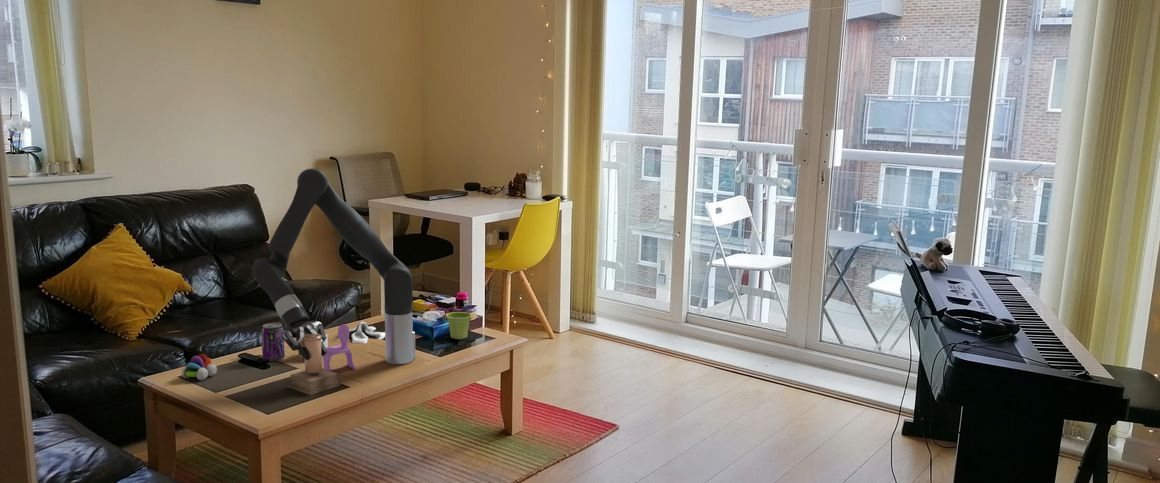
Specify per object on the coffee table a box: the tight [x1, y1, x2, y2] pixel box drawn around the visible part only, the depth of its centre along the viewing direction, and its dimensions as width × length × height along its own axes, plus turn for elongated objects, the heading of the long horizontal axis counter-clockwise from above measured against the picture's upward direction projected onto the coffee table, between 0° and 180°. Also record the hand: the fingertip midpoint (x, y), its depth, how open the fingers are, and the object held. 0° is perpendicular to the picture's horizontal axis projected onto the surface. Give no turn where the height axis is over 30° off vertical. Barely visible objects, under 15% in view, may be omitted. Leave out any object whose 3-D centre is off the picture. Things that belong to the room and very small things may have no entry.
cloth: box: [337, 321, 385, 345], centre depth 321 cm, size 22×19×6 cm
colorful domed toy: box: [181, 353, 218, 381], centre depth 274 cm, size 8×10×7 cm
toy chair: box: [322, 323, 356, 371], centre depth 282 cm, size 8×9×15 cm
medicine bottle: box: [298, 320, 329, 358], centre depth 297 cm, size 7×7×12 cm
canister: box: [303, 334, 323, 373], centre depth 266 cm, size 5×5×11 cm
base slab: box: [287, 368, 342, 396], centre depth 267 cm, size 11×11×4 cm
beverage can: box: [261, 322, 286, 362], centre depth 292 cm, size 7×7×12 cm
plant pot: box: [445, 311, 472, 340], centre depth 322 cm, size 9×9×9 cm
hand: (316, 356), depth 265 cm, fingers open, 5 cm apart
